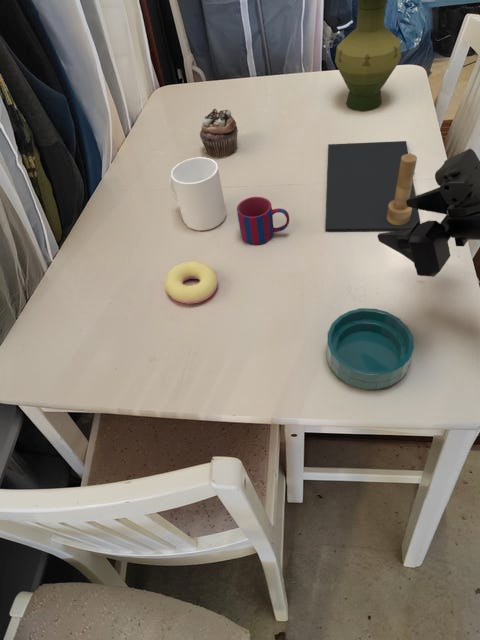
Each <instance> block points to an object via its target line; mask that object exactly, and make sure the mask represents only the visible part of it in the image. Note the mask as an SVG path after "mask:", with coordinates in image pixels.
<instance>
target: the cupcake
mask: <svg viewBox="0 0 480 640" xmlns="http://www.w3.org/2000/svg"><path fill="white" fill-rule="evenodd" d="M238 131H239V129H238V126H237V122H236V120H235V119H234V117H233V116H232V111H231V110H230V109H223V110H220V111H219V112H218V110H217V109H216V108H213V109H212V111H211V112H210V113H209V114H207V115H206V116H204V119H203V121H202V124H201V130H200V132H199V137H200V140H201V142H202V144H203V147H204V150H205V152H206V154H207V155H208V156H209V157H210V158H213V159H215V158H220V159H221V158H225V157H229V156H231V155H233V154H234V153H235V152H236V151H237V148H238Z"/></svg>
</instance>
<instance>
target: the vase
mask: <svg viewBox="0 0 480 640" xmlns="http://www.w3.org/2000/svg"><path fill="white" fill-rule="evenodd" d="M356 3H357V17H356V18H357V19H356V28H355V29H353V30H352V31H351V32H350V33H348V35H347V36H346V37H344V38H343V40H341V41H340V42H339V43H338V44H337V46H336V49H335V50H336V51H335V59H334V63H335V66H336V67H337V70H338V71H339V73H340V75H341V78H342V79H343V81H344V83H345V84H346V87H347V89H348V94H347V97H346V101H345V106H346V108H347V109H349V110H352V111H354V112H370V111H373V110H376V109H378V108H380V106H381V105H382V104H383V99H382V92H381V90H382V88H383V87H384V85H385V84H386V83H387V81H388V79H389V78H390V77H391V75H392V73H393V72H394V71H395V69H396V68H397V66H398V64H400V62H401V59H402V42H401V40H400V39H399V37H397V36H396V35H395V34H394V33H393V32H392V31H390V30H389V29H388V28H387V27H386V26H385V17H386V7H387V3H388V0H357V2H356Z"/></svg>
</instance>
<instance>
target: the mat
mask: <svg viewBox="0 0 480 640" xmlns="http://www.w3.org/2000/svg"><path fill="white" fill-rule="evenodd" d="M407 143H408V142H407V140H397V141H375V142H374V141H373V142H371V141H370V142H352V143H351V142H350V143H330V144H328V146H327V172H326V173H327V174H326V175H327V176H326V201H325V202H326V203H325V230H324V232H326V233H336V232H337V233H344V232H348V233H350V232H351V233H353V232H357V233H358V232H359V233H360V232H361V233H362V232H393V231H403V230H410V229H412V227H413V226H414V225H415V224H416V223H417V222H418V221H420V224H421V223H422V222H421V219H420V212H419V209H415V208H412V212H411V217H410V221H409V222H408V223H407V224H404V225H393V224H391V223H389V222H388V221H387V211H388V205H389V203H390V202H391V201H393V200H394V199H395V193H396V187H397V181H398V174H399V168H400V162H401V157H402V156H403V155H405V154H409V149H408V144H407ZM415 196H417V194H416V190H415V184H414V180H413V181H412V187H411V192H410V197H409V198H412V197H415Z"/></svg>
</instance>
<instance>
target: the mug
mask: <svg viewBox="0 0 480 640" xmlns="http://www.w3.org/2000/svg"><path fill="white" fill-rule="evenodd" d="M219 170H220V169H219V165H218V163H217V161H215V160H214V159H212V158H211V157H210V158H209V157H205V156H199V157H198V156H196V157H190V158H187V159H185V160H182V161H180V162H179V163H177V164H176V165H175V166H174V167H173V168H172V169H171V171H170V176H169V188H170V192H171V194H172V196H173V198H174V199H175V201H176V202H177V203H178V207H179V209H180V213H181V217H182V220H183V222H184V224H185V226H186V227H188V229H191V230H195V231H209V230H213V229H214V228H217V227H218V226H220V225H221V224H222V222H224V221H225V219H226V218H227V217H226V216H227V208H226V204H225V203H226V202H225V197H224V191H223V187H222V181H221V176H220V171H219Z"/></svg>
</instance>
